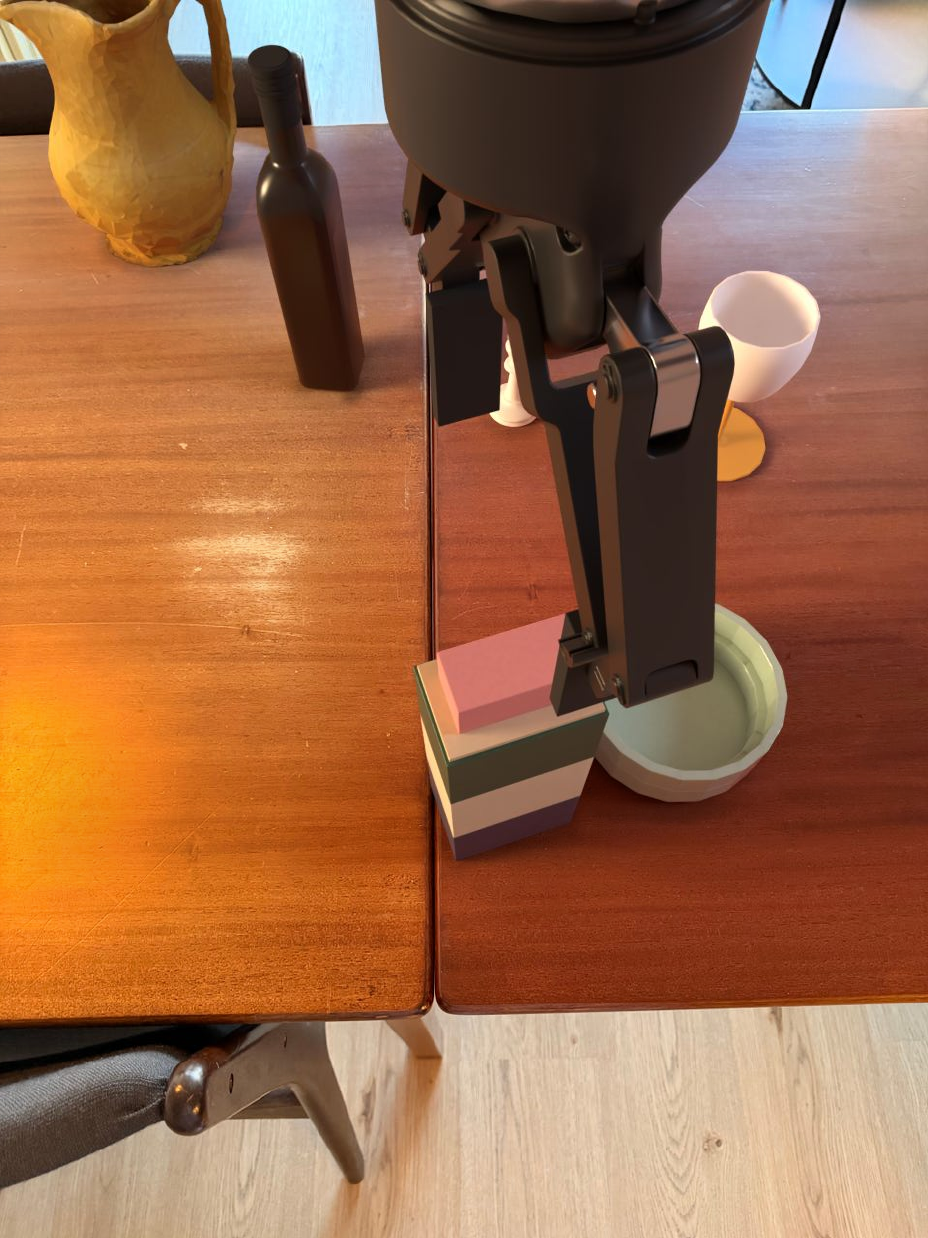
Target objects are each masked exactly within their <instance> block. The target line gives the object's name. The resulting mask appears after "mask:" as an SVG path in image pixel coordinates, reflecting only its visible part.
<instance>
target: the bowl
mask: <svg viewBox="0 0 928 1238" xmlns="http://www.w3.org/2000/svg"><path fill="white" fill-rule="evenodd" d="M787 703H788V692H787V687H786V681H785V677H784V671H783V668H782V666H781V663H780V661H779V660H778V658H777V657H776V655H775V653H774V651H773V649H772V648H771V645H770V644H769V642H768V640H767V639H766V638H764V636H763V635H761V633H759V631H758V630H757V629H756V628H755V627H754V626H753V625H752V624H751V623H750V622H749V621H747V619H745V618H744V617H742V616H740V615H738V614H736V613H735V612H733V611H731V610H730V609H728V608H726V607H724V606H722V605H721V604H719V603H715V639H714V675H713V679H712V680H711V681H710V682H706V683H703V684H700V685H697V686H694V687H691V688H688V689H685V690H682V691H679V692H676V693H673V694H670V695H667V696H664V697H660V698H657V699H654V700H651V701H648V702H645V703H642V704H639V705H636V706H633V707H630V708H624V707H623V706H622V705H621V704H620V703H619V701H618V698H614V699H611V700H608V701H605V705H606V707H607V709H608V712H609V717H608V720H607V723H606V725H605V728H604V731H603V734H602V737H601V739H600V742H599V745H598V748H597V750H596V753H595V756H594V758H595V759H596V760H597V762H598V763H599V765H601V766H602V768H603V769H604V770H605V771H606V772H607V773H608V775H609V776H611V778H613V779H614V780H616V781H618V782H620V783H621V784H623V786H626V787H627V788H629V789H630V790H632V791H633V792H635V793H637V794H638V795H639V794H640V795H642V796H646V797H649V798H653V799H656V800H659V801H663V802H667V803H676V802H677V803H680V802H685V803H686V802H700V801H703V800H706V799H709V798H712V797H715V796H717V795H721V794H723V793H726V792H728V791H729V790H730V789H731V788H733V787H734V786H735V785H736V784H738V782H740V781H741V780H743V779H744V778H745V777H746V776H748V774H749V773H750V772H752V770H753V769H754V768H755V766H756V765H757V764H758V763H759V762H760V761H761V759H762V758H763V757H765V755H766V754H767V753H768V752H769V750H770V749H771V747H772V745H773V743H774V742H775V740H776V738H777V737H778V735H779V734H780V732H781V730H782V728H783V725H784V721H785V717H786V716H785V715H786V709H787Z"/></svg>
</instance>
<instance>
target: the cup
mask: <svg viewBox="0 0 928 1238" xmlns="http://www.w3.org/2000/svg"><path fill="white" fill-rule="evenodd" d="M821 318H822V317H821V313H820V309H819V305H818V301H817V300H816V298H815V297H814V296H813V295H812V294H811V292H810V291H809V290H808V289H807V287H806V286H805V285H803V284H801V283H799V282H798V281H796V280H794V279H793V278H791V277H789V276H788V275H784V274H780V273H777V272H773V271H769V270H746V271H742V272H738V273H736V274H733V275H729V276H727V277H726V278H724V279H723V280H722V281H721V282H720V283H719V284H717V285H716V286H715V287H714V288H713V290H712V293H711V294H710V296H709V298H708V301H707V302H706V304H705V307H704V309H703V312H702V314H701V316H700V319H699V325H698V330H700V329H704V328H708V327H711V326H720V327H721V328H722V329H723V330H724V331H725V332H726V334H727V335H728V337H729V339H730V341H731V344H732V348H733V351H734V359H735V368H734V375H733V379H732V383H731V387H730V391H729V395H728V398H727V402H726V406H725V410H724V414H723V418H722V422H721V425H720V429H719V433H718V470H717V482H734V481H736V480H737V481H738V480H739V479H742V478H745V477H748V476H750V475H751V473H753V471H755V470H756V469H757V468H758V467H760V465H761V464H762V461H763V458H764V455H765V452H766V448H767V447H766V442H765V438H764V432H763V431H762V430H761V428H760V427H759V426H758V424H757V423H756V421H755V420H754V419H753V418H752V417H750V415H748V414H746V413H745V412H743V411H742V410H740V409H739V408H737V407H734V406H735V403H756V402H758V401H761V400H765V399H767V398H769V397H770V396H772V395H773V394H775V393H777V392H778V391H780V390H781V389H782V388H783V387H784V386H785V385H786V384H787V383H788V382H790V381H791V379H792V378H793V377H794V376H795V375H796V374H797V373H798V372H799V371H800V369H801V368H802V367H803V365H804V364H805V362H806V361H807V359H808V357H809V355H810V353H812V350H813V347H814V343H815V340H816V337H817V335H818V329H819V326H820V321H821Z"/></svg>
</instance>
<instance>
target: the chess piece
mask: <svg viewBox="0 0 928 1238" xmlns="http://www.w3.org/2000/svg"><path fill="white" fill-rule="evenodd" d="M505 350H506V352H507V354H508V356H507V358H506V359H504V360H505V361H504V363H503V367H504V369H505V371H506V372H508V373H509V375H508V380H507V382H505V383H501V389H500V411H496V412H492V413H489V415H490V416H491V418H492V419H493V420H494V421H496V423H498V424H500V425H502V426H505V427H511V428H519V427H523V426H526V425H529V424H531V423H532V422H533V421H534V420H536V419H537V417H534V416H532V415H530V414H528V413H527V412H526V411H525V410H524V408H523V406H522V403H521V400H520V394H519V389H518V384H517V379H516V374H515V368H514V363H513V358H512V353H511V348H510V342H509V337H508V336H507V340H506V342H505Z"/></svg>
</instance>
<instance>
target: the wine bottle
mask: <svg viewBox="0 0 928 1238" xmlns="http://www.w3.org/2000/svg"><path fill="white" fill-rule="evenodd" d="M247 65H248V69H249V70H248V71H249V73H250V75H251V81H252V88H253V91H254V93H255V95H256V96H257V100H258V105H259V109H260V115H261V118H262V123H263V127H264V132H265V136H266V141H267V145H268V151H269V152H268V153H267V155H266V156H265V158H264V160H263V163H262V166H261V168H260V171H259V172H258V176H257V181H256V185H255V205H256V215H257V217H258V223H259V226H260V230H261V234H262V237H263V241H264V245H265V250H266V254H267V258H268V262H269V265H270V269H271V274H272V277H273V281H274V286H275V289H276V293H277V297H278V300H279V305H280V310H281V314H282V317H283V321H284V325H285V329H286V332H287V336H288V340H289V345H290V349H291V352H292V353H291V354H292V356H293V361H294V364H295V367H296V373H297V376H298V381H299V383H300V384H301V385H302V387H304V388H306V389H311V390H323V391H334V392H342V393H346V392H347V393H348V392H352V391H353V390H355V389H357V388H356V387H357V386H358V385H359V381H360V377H361V372H362V369H363V365H364V360H365V357H366V355H365V347H364V341H363V335H362V329H361V323H360V315H359V309H358V303H357V297H356V290H355V284H354V277H353V271H352V264H351V258H350V252H349V251H350V250H349V244H348V238H347V233H346V232H347V231H346V227H345V225H346V224H345V220H344V211H343V206H342V199H341V194H340V186H339V180H338V177H337V174H336V171H335V169H334V167H333V165H332V163H331V162H329V160H327V158H326V157H325V156H324V155H323V154H322V153H321V152H319V151H317V150H315V149H314V148H312V147H310V146H307V141H306V136H305V131H304V130H305V129H304V125H303V120H302V113H301V109H300V103H299V98H298V93H297V90H298V79H297V76H296V73H295V66H294V58H293V54H292V52H291V51H290V50H289V48H286V47H284V46H283V45H278V44H267V45H262V46H259V47H257V48H255V49H253V50H252V51H251V52H250V54H248V56H247Z"/></svg>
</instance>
